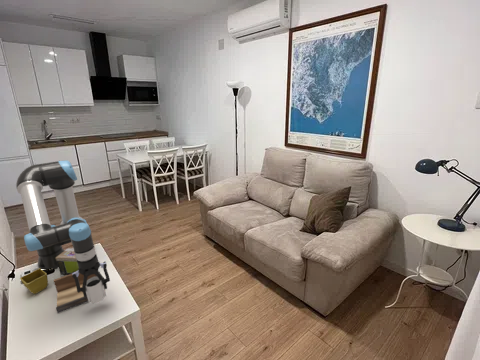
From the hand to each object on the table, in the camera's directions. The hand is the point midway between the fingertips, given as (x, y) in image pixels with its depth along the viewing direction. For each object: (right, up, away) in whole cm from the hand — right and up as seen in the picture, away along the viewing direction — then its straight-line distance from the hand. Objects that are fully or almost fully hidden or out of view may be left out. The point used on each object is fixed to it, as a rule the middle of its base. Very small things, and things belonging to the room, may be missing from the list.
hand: (97, 297), depth 117 cm
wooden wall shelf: (-14, -3, +9) cm, 17 cm away
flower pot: (-38, -2, +13) cm, 41 cm away
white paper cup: (0, -1, 0) cm, 1 cm away
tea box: (-23, +2, +23) cm, 33 cm away
